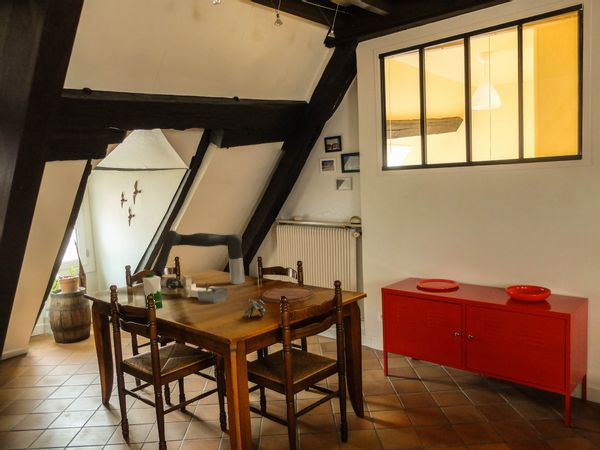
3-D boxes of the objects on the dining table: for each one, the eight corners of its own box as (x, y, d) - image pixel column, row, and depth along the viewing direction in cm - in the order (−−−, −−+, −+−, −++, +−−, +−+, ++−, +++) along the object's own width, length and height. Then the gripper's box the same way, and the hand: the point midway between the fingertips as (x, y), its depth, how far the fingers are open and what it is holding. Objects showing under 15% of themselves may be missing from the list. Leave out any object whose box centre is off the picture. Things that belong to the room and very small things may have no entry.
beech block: (182, 296, 306) (180, 276, 305) (187, 294, 310) (185, 274, 309) (187, 297, 304) (185, 276, 302) (192, 295, 308) (191, 275, 306)
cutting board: (304, 305, 273) (304, 300, 272) (252, 302, 284) (252, 298, 284) (321, 291, 303) (321, 287, 302) (274, 289, 314) (274, 285, 313)
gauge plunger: (188, 296, 301) (187, 282, 300) (196, 293, 307) (195, 280, 306) (204, 298, 294) (203, 284, 293) (212, 295, 299) (211, 282, 298)
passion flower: (262, 326, 256) (271, 310, 250) (244, 326, 250) (252, 310, 244) (255, 310, 264) (263, 294, 258) (237, 310, 258) (245, 294, 252)
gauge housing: (198, 301, 293) (197, 290, 293) (212, 296, 303) (211, 286, 303) (214, 303, 286) (213, 292, 285) (228, 298, 296) (227, 288, 295)
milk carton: (157, 304, 290) (154, 271, 287) (164, 307, 283) (161, 273, 281) (143, 308, 284) (140, 274, 282) (150, 311, 277) (147, 276, 275)
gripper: (160, 279, 308) (178, 281, 299) (177, 275, 320) (195, 277, 311) (161, 291, 309) (179, 293, 300) (178, 286, 321) (196, 288, 312)
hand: (187, 285), depth 306 cm, fingers open, 8 cm apart
